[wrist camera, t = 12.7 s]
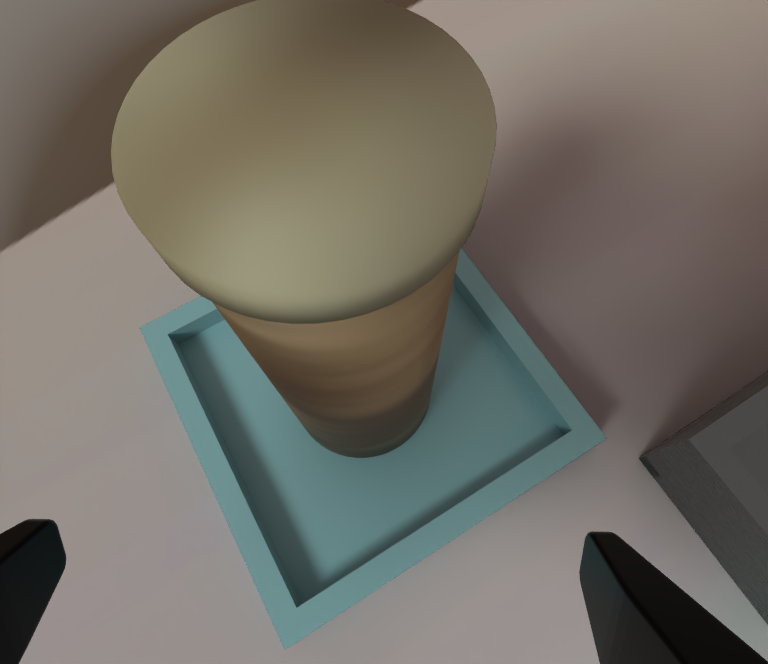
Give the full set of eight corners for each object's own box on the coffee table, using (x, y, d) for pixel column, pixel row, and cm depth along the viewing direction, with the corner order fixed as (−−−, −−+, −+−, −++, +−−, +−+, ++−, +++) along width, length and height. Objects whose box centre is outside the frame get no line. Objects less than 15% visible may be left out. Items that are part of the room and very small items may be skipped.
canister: (458, 356, 20) (550, 52, 8) (397, 490, 18) (392, 360, 6) (332, 301, 21) (243, -42, 9) (261, 422, 19) (28, 196, 7)
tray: (590, 446, 19) (606, 438, 18) (294, 640, 17) (284, 649, 15) (413, 209, 23) (415, 186, 22) (157, 343, 21) (139, 327, 20)
